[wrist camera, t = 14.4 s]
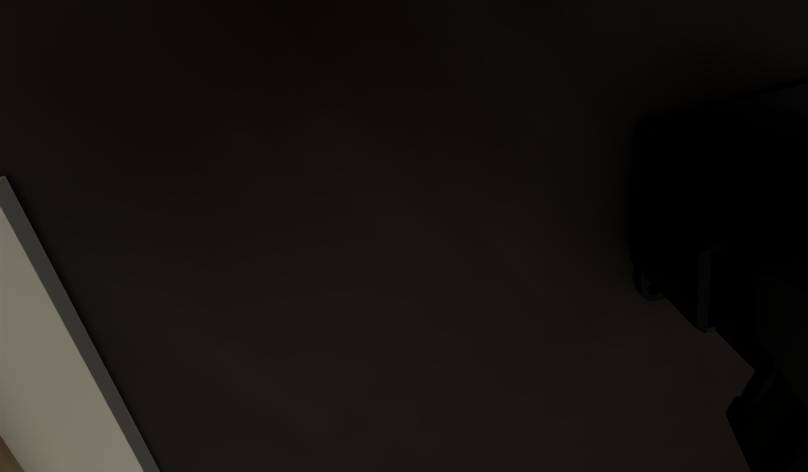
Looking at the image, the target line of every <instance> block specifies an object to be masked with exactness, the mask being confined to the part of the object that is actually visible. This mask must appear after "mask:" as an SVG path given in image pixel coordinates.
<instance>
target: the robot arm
mask: <svg viewBox="0 0 808 472" xmlns="http://www.w3.org/2000/svg"><path fill="white" fill-rule="evenodd" d="M655 129H657V133H656V135H655V137H654V138H653V139H651V140H649V141H648V140H647V139H648V135H649V134H650V132H651V131H653V130H655ZM633 151H634V188H633V189H632V191H631V193H630V195H629V229H630V260H631V261H632V262H633V264H634V265H635V286H636V290H637V291H638V292H639V293H640V294H641V295H642V297H643V298H644V299H646V300H649V301H653V300H658V299H662V298H665V297H666V298H667V299H668V300H669V301H670V302H671V303H672V304H673V305H674V306H675V307H676V308H677V309H678V310H679V311H680V312H681V313H682V314H683V315H684V317H685V318H686V319H687V320H688V321H689V322H690V323H691V324H692V325H693V326H694V327H695V328H697V329H699V330H700V331H702V332H704V333H705V332H708V331H712V330H715V331H716V332H717V333H718V334H719V335H720V336H721V337H722V338H723V339H724V340H725V341H726V342H727V343H728V344H729V345H730V346H731V347H732V348H733V349H734V350H735V351H736V352H737V353H738V354H739V355H740V356H741V357H742V358H743V359H744V360H745V361H746V362H747V363H748V364H749V365H750V366H751V367H752V368H753V369H754V370H756V371H755V372H754V374H753V376H752V377H751V379H750V381H749V382H748V384H747V386H746V387H745V389H744V391H743V392H742V394H741V395H740V397H739V396H737V397H735V398H734V399H733V401H732V403H731V404H730V406H729V408H728V409H727V411H726V417H727V419H728V421H729V423H730V426H731V428H732V430H733V432H734V435H735V437H736V439H737V441H738V443H739V446H740V448H741V450H742V452H743V455H744V457H745V459H746V461H747V463H748V466H749V468H750V470H751V472H808V78H804V79H800V80H796V81H792V82H788V83H784V84H780V85H776V86H772V87H768V88H764V89H760V90H756V91H752V92H748V93H744V94H740V95H736V96H732V97H728V98H724V99H720V100H716V101H712V102H708V103H704V104H700V105H696V106H692V107H688V108H684V109H680V110H676V111H672V112H668V113H664V114H660V115H656V116H652V117H648V118H646V119H644V120H642V121H641V122H640V123H639V124H638V125H637V127H636V129H635V130H634V135H633ZM652 283H653V284H654V286H653V287H651V288H649V286H650V285H651V284H652Z"/></svg>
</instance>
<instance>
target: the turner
mask: <svg viewBox="0 0 808 472" xmlns="http://www.w3.org/2000/svg"><path fill="white" fill-rule="evenodd" d="M0 472H24V470H23V469H22V467H21V466H20V464H19V463H18V461H17V460H16V458H15V457H14V455H13V454H12V452H11V451H10V449H9V448H8V446H7V445H6V443H5V442H4V440H3V439H2V437H1V436H0Z"/></svg>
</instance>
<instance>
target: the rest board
mask: <svg viewBox="0 0 808 472" xmlns="http://www.w3.org/2000/svg"><path fill="white" fill-rule="evenodd" d="M0 436H1V437H2V439H3V440H4V442H5V443H6V445H7V446H8V448H9V449H10V451H11V452H12V454H13V455H14V457H15V458H16V460H17V461H18V463H19V464H20V466H21V467H22V469H23V470H24V472H160V471H159V469H158V467H157V465H156V463H155V461H154V459H153V457H152V455H151V453H150V452H149V450H148V448H147V446H146V444H145V442H144V440H143V438H142V436H141V434H140V432H139V431H138V429H137V427H136V425H135V423H134V421H133V419H132V417H131V415H130V413H129V411H128V410H127V408H126V406H125V404H124V402H123V400H122V398H121V396H120V394H119V392H118V390H117V388H116V387H115V385H114V383H113V381H112V379H111V377H110V375H109V373H108V371H107V369H106V367H105V366H104V364H103V362H102V360H101V358H100V356H99V354H98V352H97V350H96V348H95V346H94V345H93V343H92V341H91V339H90V337H89V335H88V333H87V331H86V329H85V327H84V325H83V324H82V322H81V320H80V318H79V316H78V314H77V312H76V310H75V308H74V306H73V304H72V303H71V301H70V299H69V297H68V295H67V293H66V291H65V289H64V287H63V285H62V283H61V282H60V280H59V278H58V276H57V274H56V272H55V270H54V268H53V266H52V264H51V262H50V261H49V259H48V257H47V255H46V253H45V251H44V249H43V247H42V245H41V243H40V241H39V239H38V238H37V236H36V234H35V232H34V230H33V228H32V226H31V224H30V222H29V220H28V218H27V217H26V215H25V213H24V211H23V209H22V207H21V205H20V203H19V201H18V199H17V197H16V196H15V194H14V192H13V190H12V188H11V186H10V184H9V182H8V180H7V178H6V176H2V177H0Z"/></svg>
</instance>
